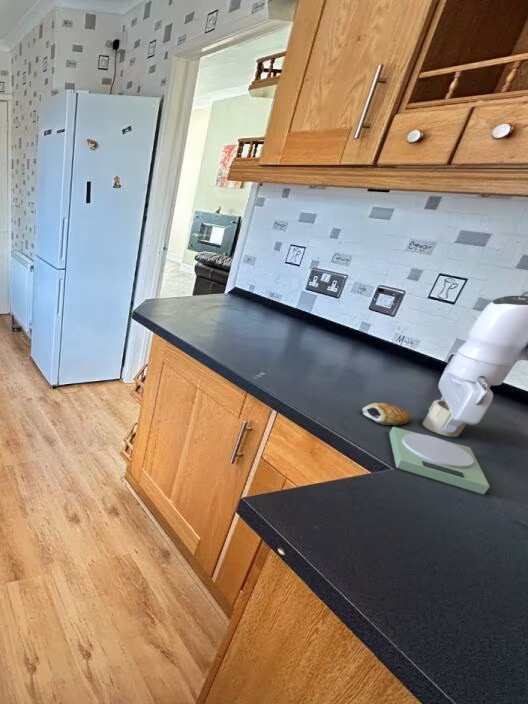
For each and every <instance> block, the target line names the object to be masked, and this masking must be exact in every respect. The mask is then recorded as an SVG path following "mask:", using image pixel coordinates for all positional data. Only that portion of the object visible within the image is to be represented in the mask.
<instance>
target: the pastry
mask: <svg viewBox="0 0 528 704" xmlns="http://www.w3.org/2000/svg"><path fill="white" fill-rule="evenodd" d="M361 412H362V415H363V416H365V417H366V418H368V419H370V420H373V421H374V422H375V423H378V424H381V425H382V426H383V425H384V426H391V425H392V426H400V425H401V426H402V425H404V424H407V423H408V422H409V420H411V419H412V418H411V417H412V415H411V414H410V413H409V412H408V411H406V410H405V409H404V408H402V407H398V406H397V405H393V404H389V403H385V402H373V403H370V404H367V405H366V406H364V407H362V411H361Z"/></svg>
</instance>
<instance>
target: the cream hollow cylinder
mask: <svg viewBox="0 0 528 704" xmlns="http://www.w3.org/2000/svg"><path fill="white" fill-rule="evenodd" d="M451 415H452V414H451V412H450V410H449V408H448V406H447V404H446V402H445V400H441V399H436V400H433V402H432V404H431V405H430V406H429V408H428V413H427V414H426V416H425V417H424V419H423V420H422V422H421V423H422V426H423V427H424V428H425V429H427V430H429V431H430V432H433V433H435V434H438V435H441V436H445V437H451V438H456V437H459V436H460V435H461V434H462V432H463V430H464V429H465V428H466V425H467V424H465V423H463V424H461V425H460V426H458V427H457V429H456V430H455V432H448V431H445V430H444V428H443V425H444V424H445V422H446V421H448V420H449V419H450V418H451Z"/></svg>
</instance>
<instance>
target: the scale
mask: <svg viewBox="0 0 528 704" xmlns="http://www.w3.org/2000/svg"><path fill="white" fill-rule="evenodd" d="M388 436H389V440H390V444H391V445H390V446H391V449H392V454H393V459H394V463H395V467H396V469H399V470H403V471H405V472H409V473H413V474H415V475H419V476H422V477H426V478H429V479H432V480H435V481H438V482H442V483H445V484H448V485H452V486H454V487H458V488H461V489H465V490H468V491H471V492H473V493H474V492H475V493H477V494H481V495H485V494H486V492H487V491H488V490H489V489H490V487H491V486H490V484H489V482H488V480H487V478H486V476H485V474H484V472H483V470H482V468H481V466H480V464H479V462H478V460H477V458H476V456H475V454H474V452H473V450H472V449H471V447H470V446H466V445H464V444H463V445H462V444H459V443H454V442H451V441H448V440H445V439H441V438H439V437H435V436H431V435H428V434H423V433H418V432H415V431H410V430H407V429H404V428H400V427H397V426H392V427H391V429H390V430H389V433H388Z"/></svg>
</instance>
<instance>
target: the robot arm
mask: <svg viewBox="0 0 528 704" xmlns="http://www.w3.org/2000/svg"><path fill="white" fill-rule="evenodd" d="M446 361H447V365H446V366H445V368H444V370H443V372H442V374H441V377H440V378H439V381H438V385H437V387H438V389H439V391H440V394H441V397H440V400H445V402H446V404H447V406H448V408H449V410H450V412H451V414H452V415H451V418H450V419H449V420H448V421H446V422H445V424H444V425H443V428H444V430H445V431H448V432H455V430H456V429H457V427H458V426H460V425H461V424H463V423H465V424H466V425H470V426H477V425H478V424H479V423H480V422H481V420H482V419H483V417H484V416H485V414H486V413H487V410H488V409H489V407H490V405H491V403H492V401H493V398H494V393H493V391H492V389H490V388H491V386H500V385H502V384H503V383H504V381H505V380H506V378H507V376H508V375H509V374H510V373H511V371H512V369H513V368H514V366H515V365H516V364H517V362H519V361H528V295H507V296H506V295H505V296H501V297H497V298H496V299H493V300H492V301H491V302H489V303H488V304H487V305H486V306H485V308H483V309H482V311H481V312H480V314H479V315H478V317H477V318H476V319H475V321H474V322H473V323H472V325H471V327H470V329H469V330H468V332H467V337H466V340H465V341H464V343H463V344H462V345H461V346H460V347H459V348H458V349H457V351H456V352H451V353H450V354H449V355H448V357H447V359H446Z"/></svg>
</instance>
